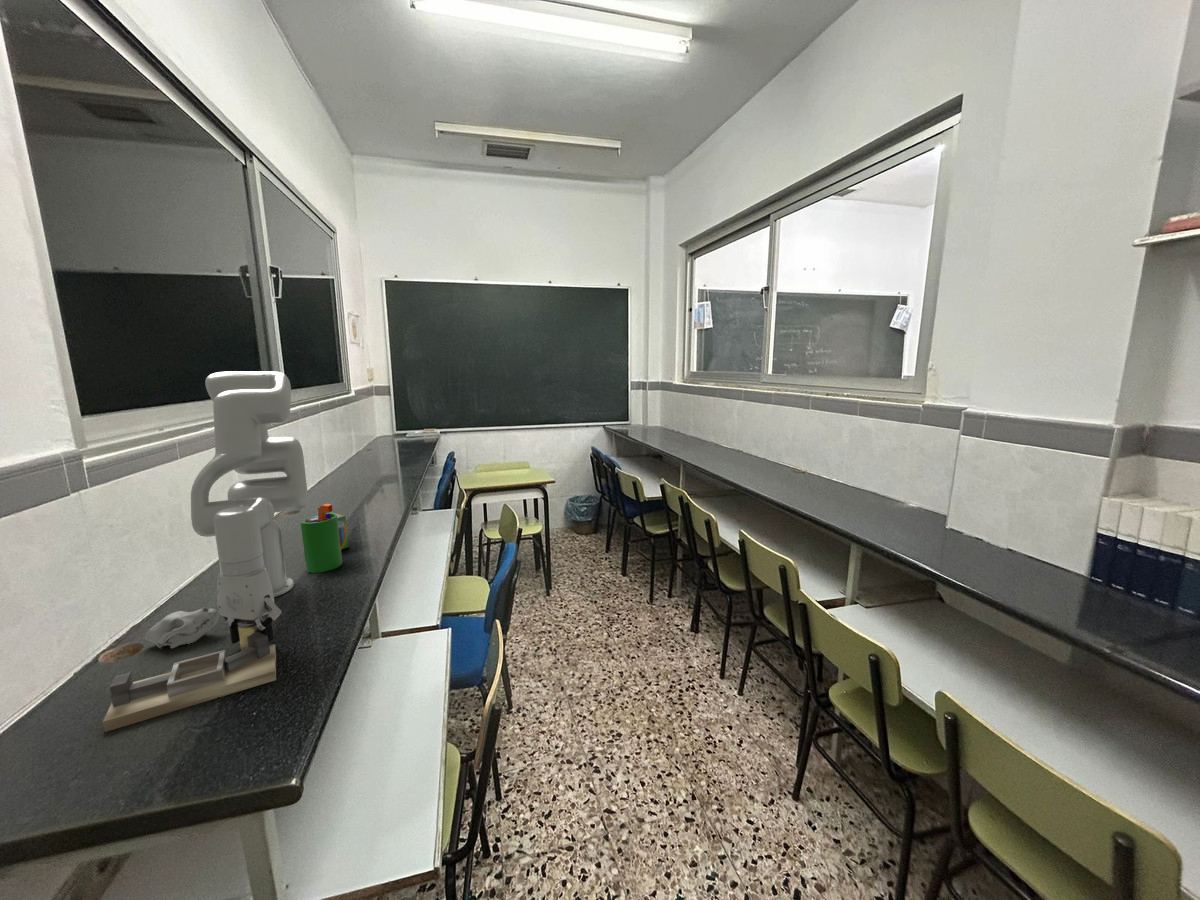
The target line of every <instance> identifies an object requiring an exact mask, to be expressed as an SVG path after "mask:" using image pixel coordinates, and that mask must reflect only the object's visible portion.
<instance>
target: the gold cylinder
mask: <svg viewBox="0 0 1200 900" xmlns="http://www.w3.org/2000/svg"><path fill="white" fill-rule="evenodd" d="M261 618H262V621H263V622H264V619H263V617H261ZM237 624H238V632H239V639H240V641H239V645H240V651H242V650H244V649H246V648H248V640H247V636H250V635H252V634H254V633H256V632H257V630H258V629H259V628H258V626H257V624H256V622H255V620H243V619H240V620H238V622H237Z"/></svg>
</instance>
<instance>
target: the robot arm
mask: <svg viewBox="0 0 1200 900" xmlns="http://www.w3.org/2000/svg"><path fill="white" fill-rule="evenodd" d="M204 383H205V388H206V391H207V393H208V396H209V397H210V399H211V401H212V405H213V406H212V407H213V408H212V409H213V431H214V450H215V451H214V455H213V457H212V458H211V460H210V461H208V463H206V464H205V466H203V467H202V469H201V470H200V471H199V472H198V474H197V476H196V477H195V479H194V481H193V483H192V487H191V490H190V519H191V520H190V521H191V526H192V528H193V531H194V533H195V534H197V535H198V536H200V537H209V538H210V537H215V542H216V549H217V557H218V563H219V572H218V575H217V581H216V582H217V583H216V597H217V605H216V608H215V609H216V610H217V611H218V614H219V616H221V617H223V619H224V620H225V621H226V622H225V623H226V625H227V627H229V632H230V640H231V644H236V643H239V642H240V639H239V632H238V624H237V622H238V620H240V619H243V620H255V622H256V624H257V626H258V628H259V629H258V630H257V632H259V633H261V634H264V635H266V636H268V642H269V643H270V642H272V641H273V640H274V631H273V625H274V623H275V621H276V620H277V619H278V618H279V616H280V615H282V610H281V609H280V608H279V607H278V606H277V605H276V603H275V598H276V597H279V596H281V595H284V594H285V593H288V592H289V591H291V590H292V589H293V587H294V580H293V579H292V578H291V577H287V571H286V563H285V556H284V555H285V553H284V546H283V537H282V529H281V526H280V524H279V522H277V521H276V520H275V519H274V518H275V514H276V513H283V512H291V511H297V510H301V509H303V508H304V507H306V505H307V503H308V499H309V497H308V485H307V483H308V482H307V478H306V477H307V474H306V466H305V458H304V451H303V448H302V445H301V443H300V440H298V439H297V438H295V437H293V436H276V437H270V436H269V431H268V425H273V424H274V425H277V424H283V423H284V424H285V423H286V422H287V421H288V419H289V418H290V413H291V406H292V404H291V401H292V397H291V396H292V386H291V381H290V379H289V377H288V376H287V375H286V374H285V373H283V372H281V371H244V370H243V371H241V370H240V371H237V370H236V371H235V370H234V371H232V370H231V371H218V372H214V373H210V374H209V375H208V376H207V377H206V378H205V382H204ZM231 471H234V472H236V473H237V474H240V475H260V474H270V473H271V474H272V473H284V474H285V475H286V476H278V477H276V476H275V477H265V478H263V477H262V478H254V479H246V480H245V479H244V480H241V481H237V482H236V483H233V484H232V485H231V486H230V488H229V489H228V490H227V499H225V500H218V501H217V500H216V501H210V499H209V497H210V491H211V490H212V487H213V485H214V484H215V483H216V482H217V481H218V480H219V479H220V478H221V477H223V476H225V475H226V474H228V473H230V472H231ZM261 617H262V618H263V617H264V618H265V620H263V621H262V618H261Z"/></svg>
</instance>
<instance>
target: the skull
mask: <svg viewBox="0 0 1200 900" xmlns="http://www.w3.org/2000/svg"><path fill="white" fill-rule="evenodd" d="M219 619H220V614H219V611H218V610H217V608H209V607H202V608H200V609H198V610H194V611H190V612H189V611H183V610H179V611H174V612H171V613H170V614H169V613H168V614H167V615H166V616H165V617H163V618H162V619H161V620H160V621H158V622H156V624H155V625H153V626H152V627H150V628H149V630H148V631H147V632H146V634H145V635H144V636H145V637H144V640H145V641H147V642H152V643H154V645H156V647H157V648H159V649H161V648H160V647H163V648H164V647H165V646H169V648H170V649H175V648H177V647H179V646H182V645H183V646H186V645H185V644H188V645H191V644H190V643H192V644H193V642H194V643H195V642H197V641H198V640H199V639H201V638H202V637H203V636H204V635H205V634H206V633H208V631H210V630H211V629H212V628H214V627H215V625H216V624H217V623H218V622H219Z"/></svg>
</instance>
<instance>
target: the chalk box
mask: <svg viewBox="0 0 1200 900" xmlns="http://www.w3.org/2000/svg"><path fill="white" fill-rule="evenodd" d="M319 508H320V507H317V511H319ZM326 513H327V512H326ZM330 513H334V514H337V519H338V528H339V537H340V546H341V551H342V550H343V549H347V548H349V547H350V545H349V535H348V529H347V528H348V527H347V520H346V515H343V514H339V513H336V512H333V511H332V512H330ZM316 519H318V515H314V516H311V517H307V518H305V519H304V521H305V523H307V522H309V521H312V520H316Z"/></svg>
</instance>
